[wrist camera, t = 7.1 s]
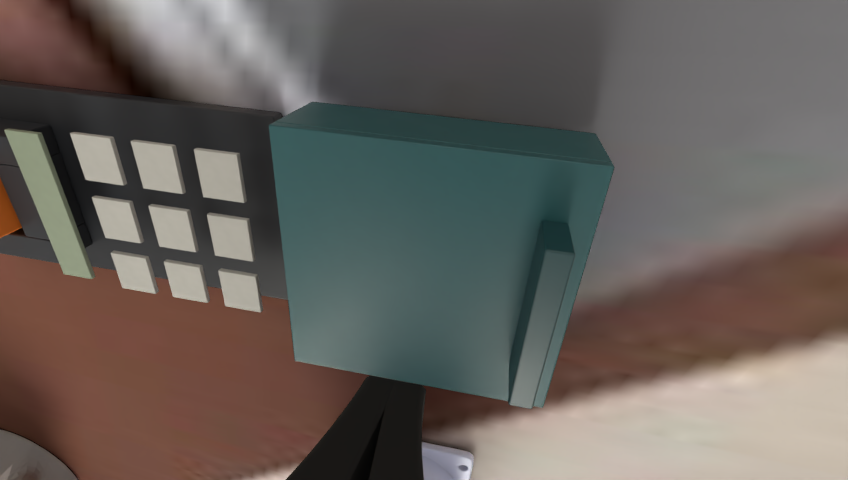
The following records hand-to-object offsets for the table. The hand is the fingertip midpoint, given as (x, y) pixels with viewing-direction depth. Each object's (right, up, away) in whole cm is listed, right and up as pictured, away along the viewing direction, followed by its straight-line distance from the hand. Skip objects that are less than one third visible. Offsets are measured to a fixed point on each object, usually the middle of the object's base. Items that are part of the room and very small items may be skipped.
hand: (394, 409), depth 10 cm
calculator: (-12, +6, +9) cm, 17 cm away
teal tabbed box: (+1, +4, +7) cm, 8 cm away
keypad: (-10, +5, +7) cm, 13 cm away
